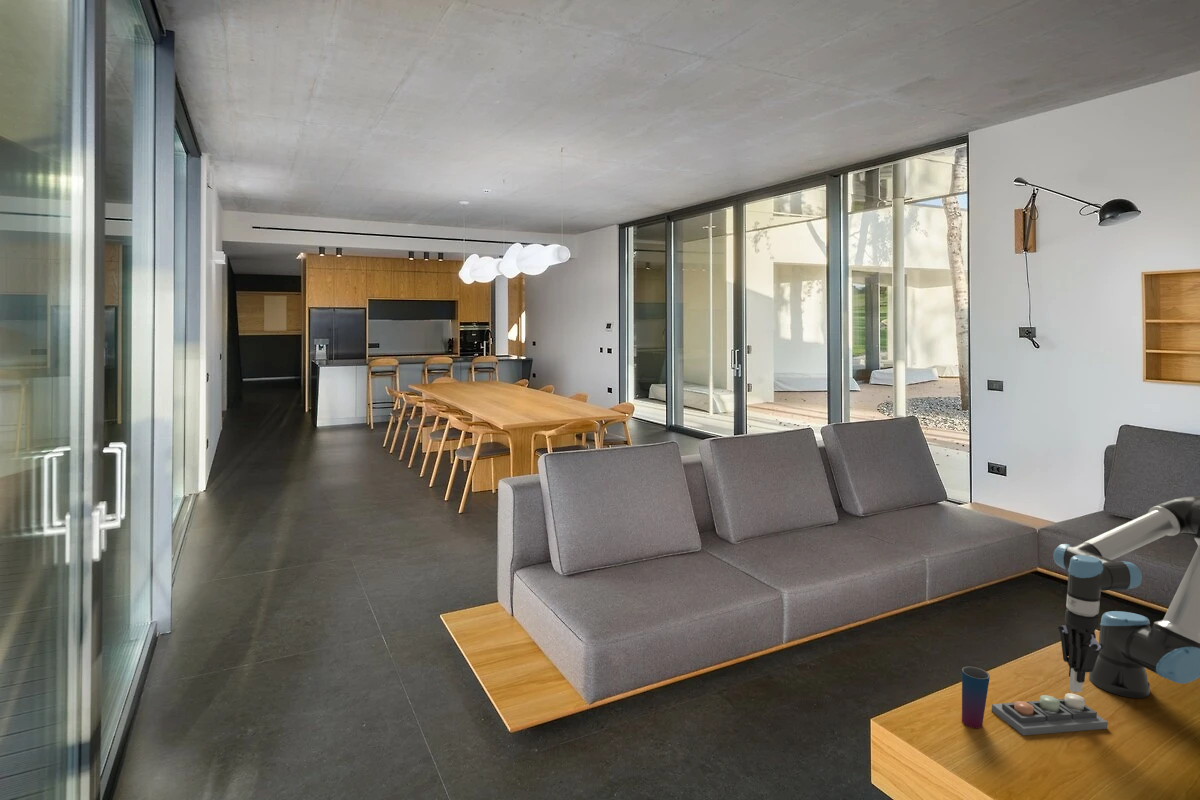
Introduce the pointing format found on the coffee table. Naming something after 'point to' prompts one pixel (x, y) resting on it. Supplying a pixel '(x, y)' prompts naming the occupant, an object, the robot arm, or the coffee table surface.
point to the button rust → (1023, 708)
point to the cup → (974, 695)
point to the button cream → (1074, 701)
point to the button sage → (1049, 703)
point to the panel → (1050, 719)
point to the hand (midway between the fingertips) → (1075, 690)
